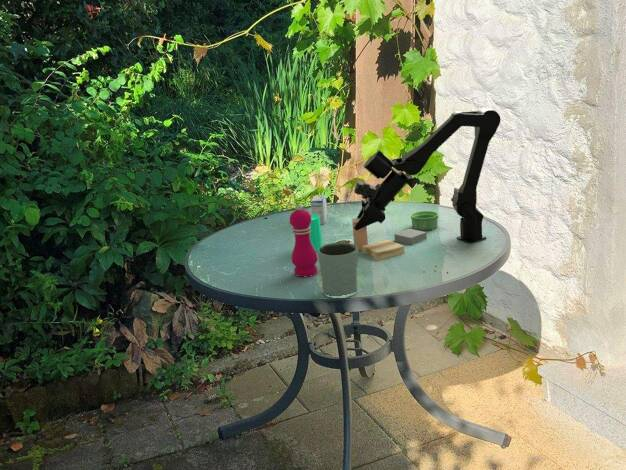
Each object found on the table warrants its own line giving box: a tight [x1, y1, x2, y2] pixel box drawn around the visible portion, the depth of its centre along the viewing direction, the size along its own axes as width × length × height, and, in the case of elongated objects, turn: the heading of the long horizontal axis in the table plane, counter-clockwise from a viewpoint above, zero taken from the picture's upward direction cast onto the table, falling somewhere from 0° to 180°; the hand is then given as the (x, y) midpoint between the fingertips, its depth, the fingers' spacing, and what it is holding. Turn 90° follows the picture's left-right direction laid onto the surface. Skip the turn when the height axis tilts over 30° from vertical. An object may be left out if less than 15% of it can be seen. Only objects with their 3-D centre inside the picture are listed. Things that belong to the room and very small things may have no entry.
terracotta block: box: [351, 217, 369, 252], centre depth 205 cm, size 4×4×9 cm
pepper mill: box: [289, 203, 319, 277], centre depth 187 cm, size 7×7×20 cm
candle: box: [308, 211, 323, 253], centre depth 208 cm, size 6×6×12 cm
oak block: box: [361, 239, 406, 261], centre depth 201 cm, size 9×9×2 cm
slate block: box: [393, 228, 428, 245], centre depth 210 cm, size 7×7×2 cm
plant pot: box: [317, 242, 358, 296], centre depth 172 cm, size 10×10×12 cm
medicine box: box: [310, 194, 328, 225], centre depth 238 cm, size 8×4×9 cm, turn 172°
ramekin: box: [410, 210, 439, 231], centre depth 221 cm, size 9×9×4 cm
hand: (355, 227), depth 205 cm, fingers closed on terracotta block, 4 cm apart
